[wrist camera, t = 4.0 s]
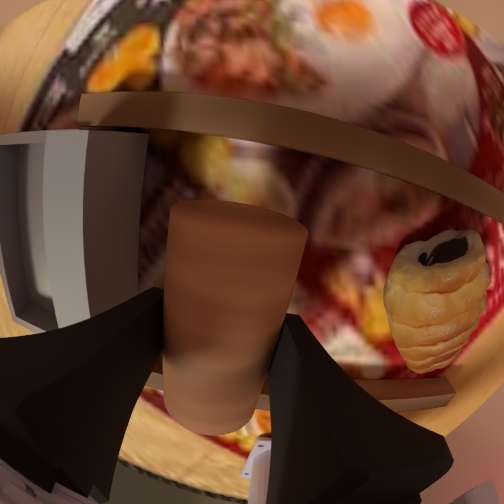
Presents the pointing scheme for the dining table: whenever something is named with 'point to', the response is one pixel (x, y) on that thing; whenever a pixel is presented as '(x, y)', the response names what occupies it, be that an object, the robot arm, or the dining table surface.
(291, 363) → the robot arm
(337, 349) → the dining table surface
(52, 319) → the cradle
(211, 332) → the roller
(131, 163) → the block
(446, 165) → the rail
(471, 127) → the dining table surface
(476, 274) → the pastry
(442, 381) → the rail
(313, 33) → the dining table surface
